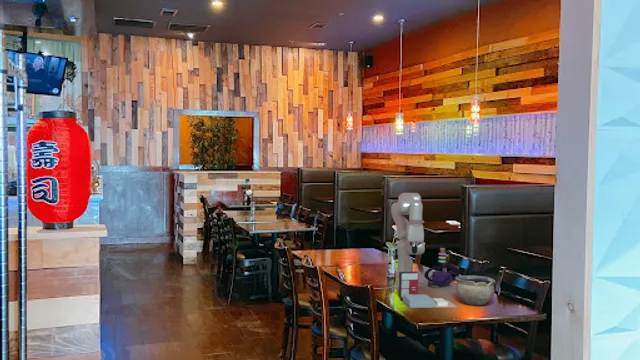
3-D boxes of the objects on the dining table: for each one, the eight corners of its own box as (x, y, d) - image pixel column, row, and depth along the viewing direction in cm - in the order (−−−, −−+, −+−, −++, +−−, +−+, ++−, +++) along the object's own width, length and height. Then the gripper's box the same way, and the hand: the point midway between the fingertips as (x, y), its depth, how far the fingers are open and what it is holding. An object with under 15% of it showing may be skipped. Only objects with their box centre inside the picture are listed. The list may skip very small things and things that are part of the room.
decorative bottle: (456, 283, 379) (457, 246, 378) (460, 290, 358) (462, 251, 357) (422, 281, 382) (424, 245, 381) (425, 288, 361) (426, 250, 360)
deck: (402, 301, 327) (403, 294, 326) (426, 301, 328) (426, 294, 328) (409, 307, 313) (410, 300, 313) (434, 307, 315) (434, 300, 314)
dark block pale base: (400, 298, 334) (401, 273, 334) (398, 296, 338) (399, 271, 338) (418, 297, 336) (418, 272, 336) (415, 295, 340) (416, 271, 340)
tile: (442, 298, 327) (442, 301, 327) (432, 298, 326) (432, 301, 326) (447, 302, 318) (447, 305, 318) (437, 302, 317) (437, 305, 317)
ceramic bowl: (466, 309, 312) (467, 282, 312) (448, 299, 333) (448, 274, 333) (501, 307, 318) (502, 281, 318) (481, 298, 339) (481, 273, 339)
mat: (427, 301, 328) (427, 300, 328) (448, 301, 330) (448, 300, 330) (434, 307, 315) (434, 306, 315) (457, 307, 316) (457, 306, 316)
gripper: (425, 221, 338) (424, 252, 338) (401, 221, 336) (400, 252, 336) (429, 223, 330) (428, 254, 331) (404, 223, 328) (403, 254, 329)
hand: (414, 253), depth 334 cm, fingers closed
